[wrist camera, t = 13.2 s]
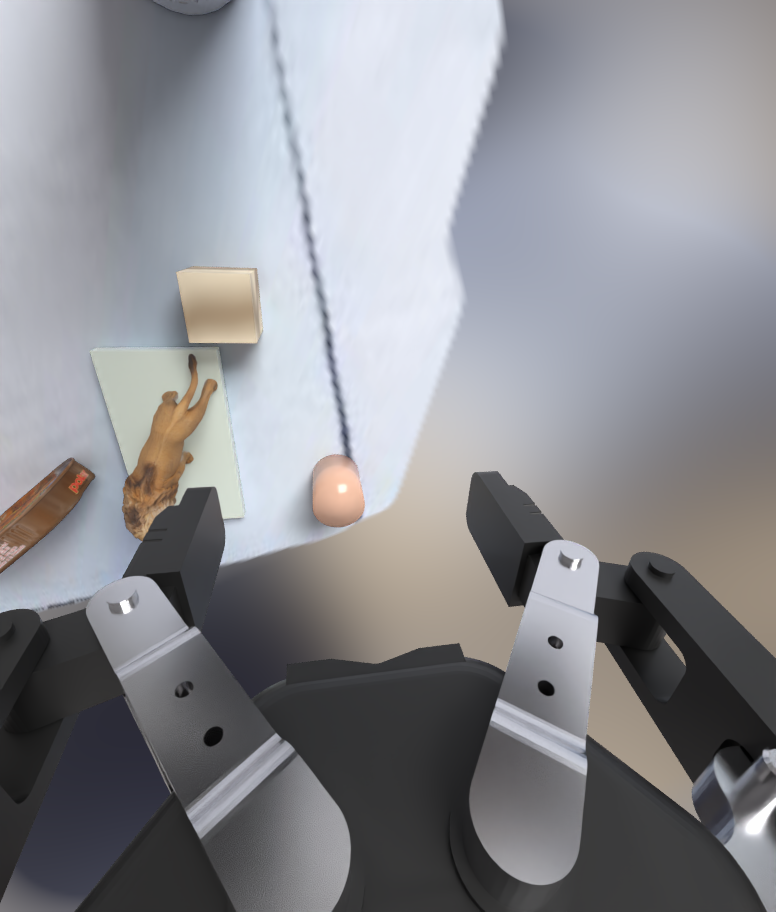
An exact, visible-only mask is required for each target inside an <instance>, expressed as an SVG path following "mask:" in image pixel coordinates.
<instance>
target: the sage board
mask: <svg viewBox="0 0 776 912" xmlns="http://www.w3.org/2000/svg"><path fill="white" fill-rule="evenodd" d="M90 354H91V358H92V361H93V364H94V367H95V370H96V374H97V377H98V380H99V383H100V386H101V389H102V393H103V396H104V399H105V402H106V405H107V409H108V412H109V415H110V418H111V421H112V425H113V428H114V431H115V434H116V437H117V440H118V444H119V447H120V450H121V453H122V456H123V460H124V463H125V466H126V469H127V472H128V475H130V474H132V473H133V471H134V469H135V467H136V466H137V464H138V458H139V455H140V452H141V450H142V448H143V446H144V445H145V443H146V441H147V439H148V438H149V436H150V432H151V426H152V422H153V416H154V414H155V413H156V411H157V409H158V406H159V405H160V404H162V402H163V400H162V395H163V394H164V393H165V392H167V391H176V392H178V399H177V400H176V403H177V404H179V403H180V401H181V400H182V399H183V397H184V395H185V394H186V392H187V391H188V389H189V386H190V383H191V372H190V369H189V367H188V363H189V360H188V356H189V354H193V355H194V356H195V357H196V361H197V373H198V385H197V388H196V391H195V394H194V396H193V398H192V400H191V402H190V404H189V407H188V409H189V408H191V407H193V406H194V405H195V404H196V403H197V402H198V400H199V399H200V396H201V392H202V389H203V387H204V383H205V381H206V380H207V379H213V380H215V381H216V382H217V384H218V387H217V390H215V391H214V392H213V393H212V394H211V396H210V399H209V401H208V405H207V408H206V411H205V414H204V416H203V419H202V420H201V422H200V423H199V424H198V426H197V428H196V429H195V430H194V431H193V433H192V434H191V435H190V436H189V437H187V438H186V439H185V440H184V447H183V451H188V452H190V453H191V454H192V456H193V458H194V460H193V461H192V462H191V463H189V464H185V470H184V472H183V474H182V476H181V477H180V479H179V481H178V484H179V487H178V492H177V494H176V497H175V498H176V503H175V505H179V504H180V502H181V499H182V497H183V495H184V493H185V491H186V489H187V488H196V487H215V488H216V489H217V493H218V497H219V502H220V507H221V513H222V518H223V519H229V518H244V515H245V504H244V498H243V492H242V486H241V480H240V474H239V468H238V461H237V455H236V449H235V443H234V437H233V431H232V425H231V418H230V412H229V406H228V400H227V394H226V388H225V382H224V376H223V369H222V363H221V357H220V351H219V347H118V348H95V349H93V350H91V351H90Z"/></svg>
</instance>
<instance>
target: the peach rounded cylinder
mask: <svg viewBox="0 0 776 912" xmlns="http://www.w3.org/2000/svg"><path fill="white" fill-rule="evenodd" d="M364 508H365V502H364V497H363V492H362V486H361V481H360V476H359V471H358V467H357V465H356V463H355V462H354V461H353V460H352V459H350V458H349V457H347V456H344V455H329V456H326V457H324V458H322V459H321V460H320V461H319V462H318V463H317V464H316V465H315V467H314V470H313V512H314V515H315V517H316V518H317V519H318V520H319V521H320V522H321V523H323V524H325V525H327V526H331V527H344V526H347V525H350V524H352V523H354V522H355V521H357V520H358V519H359V518H360V516H361V515H362V513H363V511H364Z"/></svg>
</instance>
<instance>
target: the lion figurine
mask: <svg viewBox="0 0 776 912" xmlns="http://www.w3.org/2000/svg"><path fill="white" fill-rule="evenodd" d="M188 360H189V363H188V367H189V369H190V372H191V383H190V386H189V389H188V391H187V392H186V394H185V395H184V397H183V399H182V400H181V401H180V403H179V404H177V403H176V400H177V399H178V392H176V391H167V392H165V393H164V394H163V395H162V400H163V402H162V404H160V405H159V406H158V409H157V411H156V413H155V414H154V416H153V422H152V426H151V432H150V436H149V438H148V439H147V441H146V443H145V445H144V446H143V448H142V450H141V452H140V455H139V458H138V464H137V466H136V467H135V469H134V471H133V473H132V474H130V475H129V477H128V478H127V479H126V481H125V487H124V488H123V493H124V500H123V504H124V505H123V507H122V511H123V513H124V519H125V523H126V528H127V529H128V530H129V531H130V532H131V533H132V534H133V535H134V537H135V538H139V539H140V540H141V541H143V538H144V536H145V535H146V533H147V532H148V529H149V527H150V525H151V524H152V522H153V520H154V518H155V517H156V516H157V515H158V514H159V513H161V512H162V511H163V510H164V509H165V508H167V507H168V506H174V505H175V503H176V498H175V497H176V494H177V492H178V487H179V484H178V481H179V479H180V477H181V476H182V474H183V472H184V470H185V464H189V463H191V462H192V461H193V460H194V458H193V456H192V454H191V453H190V452H188V451H183V447H184V440H185V439H186V438H187V437H189V436H190V435H191V434H192V433H193V431H194V430H195V429H196V428H197V426H198V424H199V423H200V422H201V420H202V419H203V416H204V414H205V411H206V408H207V405H208V401H209V399H210V396H211V394H212V393H213V392H214V391H215V390H217V387H218V384H217V382H216V381H215V380H213V379H207V380H206V381H205V383H204V387H203V389H202V392H201V396H200V399H199V400H198V402H197V403H196V404H195V405H194V406H193V407H191V408H189V409H188V407H189V404H190V402H191V400H192V398H193V396H194V394H195V391H196V388H197V385H198V373H197V361H196V357H195V356H194V355H193V354H189V356H188Z"/></svg>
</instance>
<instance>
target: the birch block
mask: <svg viewBox="0 0 776 912" xmlns="http://www.w3.org/2000/svg"><path fill="white" fill-rule="evenodd" d="M176 274H177V279H178V284H179V290H180V295H181V301H182V306H183V311H184V317H185V322H186V328H187V333H188V338H189V343H257V342H258V339H259V337H260V335H261V333H262V331H263V324H262V314H261V304H260V294H259V284H258V274H257V268H229V267H199V266H193V267H190V268H187V269H184V270H181V271H178V272H176Z"/></svg>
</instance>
